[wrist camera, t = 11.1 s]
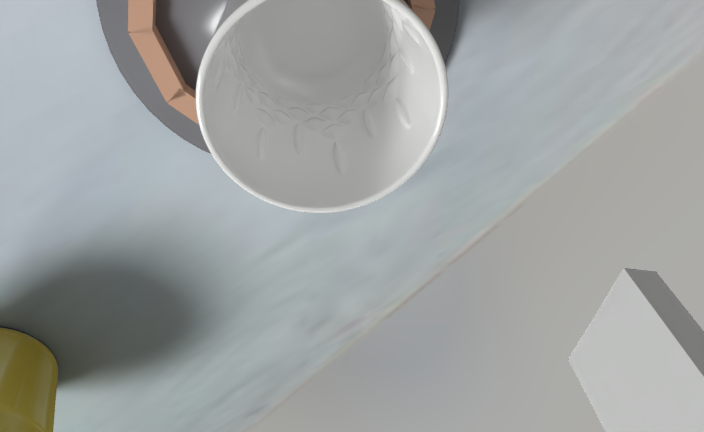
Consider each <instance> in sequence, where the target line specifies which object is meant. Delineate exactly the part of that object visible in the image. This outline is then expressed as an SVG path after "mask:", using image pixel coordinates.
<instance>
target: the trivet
mask: <svg viewBox="0 0 704 432" xmlns="http://www.w3.org/2000/svg"><path fill="white" fill-rule="evenodd" d="M404 1H405V2H406V3H407V5H408V6H409V7H410V8H411V9H412V10H413V11H414V13H415V14H416V15H417V16H418V17H419V18H420V19H421V21H422V22H423V23H424V24H425V25H426V27H427V28H428V30H429V31H430V33H431V34H432V36H433V38H434V39H435V41H436V43H437V45H438V47H439V50H440V52H441V55H442V58H443V61H444V64H445V62H446V59H447V56H448V54H449V51H450V49H451V46H452V42H453V37H454V33H455V29H456V25H457V18H458V10H459V0H404ZM227 2H228V0H97V7H98V12H99V16H100V21H101V25H102V29H103V32H104V35H105V38H106V41H107V43H108V46H109V49H110V52H111V54H112V56H113V58H114V60H115V62H116V64H117V66H118V68H119V70H120V72H121V74H122V75H123V77H124V78H125V80H126V81H127V83H128V84H129V86H130V87H131V89H132V90H133V92H134V93H135V94H136V96H137V97H138V98H139V99H140V100H141V101H142V103H143V104H144V105H145V106H146V107H147V109H148V110H149V111H150V112H151V113H152V114H153V115H155V116H156V117H157V118H158V119H159V120H160V121H161V122H162V123H163V124H164V125H165V126H167V127H168V128H169V129H171V130H172V131H173V132H175V133H176V134H177V135H179V136H180V137H181V138H183V139H184V140H186V141H188V142H189V143H191V144H193V145H195V146H196V147H198V148H200V149H202V150H204V151H206V152H208V153H211V152H210V150H209V149H208V147H207V145H206V142H205V140H204V138H203V135H202V132H201V129H200V126H199V122H198V117H197V111H196V83H197V77H198V72H199V68H200V64H201V61H202V58H203V56H204V53H205V51H206V49H207V47H208V44H209V42H210V40H211V38H212V36H213V33H214V31H215V29H216V27H217V24H218V22H219V20H220V17H221V15H222V13H223V11H224V8H225V6H226V4H227Z"/></svg>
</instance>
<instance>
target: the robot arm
mask: <svg viewBox="0 0 704 432" xmlns="http://www.w3.org/2000/svg"><path fill="white" fill-rule="evenodd" d="M568 360H569V362H570V364H571V366H572V368H573V369H574V371H575V374H576V375H577V378H578V380H579V381H580V383H581V385H582V387H583V389H584V391H585V393H586V395H587V397H588V399H589V401H590V402H591V405H592V407H593V408H594V410H595V412H596V414H597V416H598V418H599V420H600V422H601V424H602V426H603V428H604V430H605V431H606V432H704V331H703V330H702V329H701V327H700V326H699V325H698V324H697V322H696V321H695V320H694V319H693V317H692V316H691V315H690V314H689V313H688V311H687V310H686V309H685V307H684V306H683V305H682V304H681V302H680V301H679V300H678V299H677V297H676V296H675V295H674V294H673V292H672V291H671V290H670V289H669V287H668V286H667V285H666V284H665V283H664V281H663V280H662V278H661V277H660V276H659V275H658V273H657V272H654V271H645V270H636V269H628V268H624V269H623V270H622V272H621V274H620V275H619V277H618V278H617V280H616V282H615V283H614V285H613V287H612V288H611V290H610V291H609V293H608V295H607V296H606V298H605V300H604V301H603V303H602V304H601V306H600V308H599V309H598V311H597V313H596V314H595V316H594V318H593V319H592V321H591V322H590V324H589V326H588V327H587V329H586V331H585V332H584V334H583V335H582V337H581V339H580V340H579V342H578V344H577V345H576V347H575V349H574V350H573V352H572V354H571V355H570V357H569V358H568Z"/></svg>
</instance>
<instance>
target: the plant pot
mask: <svg viewBox="0 0 704 432" xmlns="http://www.w3.org/2000/svg"><path fill="white" fill-rule="evenodd" d="M57 379H58V365H57V362H56V359H55V357H54V355H53V354H52V352H51V351H50V350H49V349H48V348H47V347H46V346H45V345H44V344H42V343H41V342H40V341H38V340H37V339H35V338H33V337H31V336H29V335H27V334H25V333H22V332H19V331H16V330H12V329H7V328H0V432H53V424H54V412H55V400H56V389H57Z"/></svg>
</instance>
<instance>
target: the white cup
mask: <svg viewBox="0 0 704 432" xmlns="http://www.w3.org/2000/svg"><path fill="white" fill-rule="evenodd" d="M447 106H448V79H447V73H446V68H445V64H444V61H443V58H442V55H441V52H440V50H439V47H438V45H437V43H436V41H435V39H434V38H433V36H432V34H431V33H430V31H429V30H428V28H427V27H426V25H425V24H424V23H423V22H422V21H421V19H420V18H419V17H418V16H417V15H416V14H415V13H414V11H413V10H412V9H411V8H410V7H409V6H408V5H407V3H406V2H405V1H404V0H228V2H227V4H226V6H225V8H224V11H223V13H222V15H221V17H220V20H219V22H218V24H217V27H216V29H215V31H214V33H213V36H212V38H211V40H210V42H209V44H208V47H207V49H206V51H205V53H204V56H203V58H202V61H201V64H200V68H199V72H198V77H197V83H196V111H197V117H198V122H199V126H200V129H201V132H202V135H203V138H204V140H205V142H206V145H207V147H208V149H209V150H210V152H211V154H212V156H213V157H214V159H215V160H216V162H217V163H218V164H219V166H220V167H221V168H222V169H223V170H224V172H225V173H226V174H227V175H228V176H229V177H230V178H231V179H232V180H233V181H235V182H236V183H237V184H238V185H239V186H241V187H242V188H243V189H245V190H246V191H248V192H249V193H251V194H252V195H254V196H256V197H258V198H260V199H262V200H264V201H266V202H268V203H271V204H273V205H276V206H279V207H282V208H286V209H290V210H295V211H301V212H310V213H329V212H339V211H345V210H350V209H354V208H357V207H361V206H364V205H367V204H369V203H372V202H374V201H376V200H378V199H380V198H382V197H384V196H386V195H388V194H389V193H391V192H393V191H394V190H396V189H397V188H399V187H400V186H401V185H402V184H404V183H405V182H406V181H407V180H408V179H410V178H411V177H412V176H413V175H414V174H415V173H416V172H417V171H418V169H419V168H420V167H421V166H422V165H423V163H424V162H425V161H426V159H427V158H428V157H429V155H430V154H431V152H432V150H433V149H434V147H435V145H436V143H437V141H438V139H439V136H440V134H441V131H442V128H443V125H444V122H445V118H446V113H447Z"/></svg>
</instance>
